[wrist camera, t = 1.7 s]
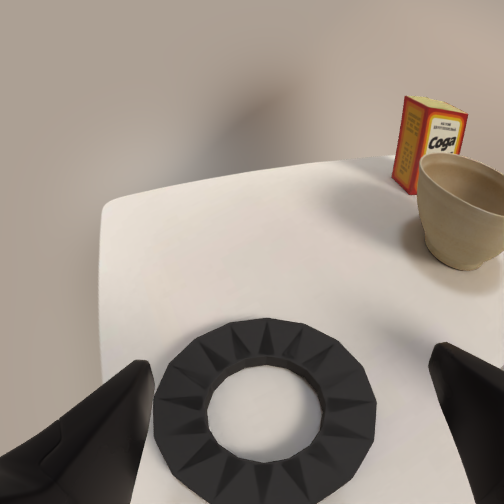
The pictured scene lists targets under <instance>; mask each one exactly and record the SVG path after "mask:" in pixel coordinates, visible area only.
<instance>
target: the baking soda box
mask: <svg viewBox="0 0 504 504" xmlns="http://www.w3.org/2000/svg"><path fill="white" fill-rule="evenodd" d="M467 118H468V114H467V113H465V112H463V111H462V110H460V109H458V108H456V107H454V106H452V105H450V104H448V103H445V102H441V101H437V100H431V99H429V98H427V97H415V96H405V98H404V106H403V113H402V120H401V126H400V133H399V139H398V145H397V150H396V156H395V161H394V166H393V172H392V178H393V179H394V180H395V181H396V182H397V183H398V184H399V185H400V186H401V187H402V188H403V189H404V190H405V191H406V192H407V193H408V194H409V195H417V185H418V177H419V162H420V159H421V157H422V156H424V155H425V154H428V153H433V152H445V153H452V154H457V155H459V154H460V150H461V146H462V141H463V137H464V132H465V128H466V122H467Z"/></svg>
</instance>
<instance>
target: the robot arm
mask: <svg viewBox="0 0 504 504" xmlns="http://www.w3.org/2000/svg"><path fill="white" fill-rule="evenodd" d="M428 368H429V372H430V375H431V378H432V381H433V384H434V387H435V391H436V394H437V397H438V400H439V403H440V406H441V409H442V412H443V414H444V416H445V419H446V421H447V424H448V426H449V429H450V431H451V434H452V436H453V439H454V441H455V444H456V447H457V449H458V452H459V455H460V458H461V460H462V463H463V466H464V469H465V472H466V475H467V478H468V481H469V484H470V487H471V490H472V493H473V496H474V499H475V503H476V504H504V371H503V370H501V369H499V368H497V367H495V366H493V365H491V364H489V363H487V362H485V361H484V360H482V359H480V358H478V357H476V356H474V355H472V354H470V353H468V352H466V351H464V350H462V349H460V348H458V347H456V346H454V345H452V344H450V343H448V342H442V343H438V344H436V345H435V346H434V349H433V352H432V355H431V358H430V361H429V365H428ZM154 387H155V383H154V378H153V374H152V371H151V367H150V364H149V362H148V361H147V360H134V361H133V362H132V363H130V364H129V365H128V366H126V367H125V368H124V369H123V370H121V371H120V372H119V373H117V374H116V375H115V376H114V377H112V378H111V379H110V380H108V381H107V382H106V383H105V384H103V385H102V386H101V387H99V388H98V389H97V390H96V391H94V392H93V393H92V394H90V395H89V396H88V397H86V398H85V399H84V400H83V401H82V402H80V403H79V404H77V405H76V406H75V407H74V408H72V409H71V410H70V411H69V412H67V413H66V414H64V415H63V416H62V417H60V419H59V420H56V421H55V422H54V423H52V424H51V425H50V426H49V427H47V428H46V429H44V430H43V431H42V432H40V433H39V434H37V435H36V436H34V437H33V438H31V439H29V440H28V441H26V442H25V443H23V444H21V445H20V446H18V447H16V448H15V449H13V450H11V451H10V452H8V453H6V454H5V455H3V456H1V457H0V504H130V502H131V497H132V493H133V489H134V485H135V480H136V476H137V472H138V468H139V464H140V460H141V456H142V452H143V448H144V444H145V441H146V437H147V433H148V428H149V422H150V415H151V408H152V401H153V394H154Z"/></svg>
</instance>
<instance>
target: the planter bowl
mask: <svg viewBox="0 0 504 504" xmlns="http://www.w3.org/2000/svg"><path fill="white" fill-rule="evenodd" d="M417 203H418V210H419V215H420V219H421V223H422V226H423V229H424V231H425V243H426V245H427V247H428V249H429V250H430V252H431V253H432V254H433V255H434V256H435V257H436V258H437V259H438V260H440V261H441V262H443V263H444V264H446V265H448V266H450V267H453V268H455V269H459V270H467V271H470V270H475V269H477V268H479V267H480V266H481V265H482V264H483V262H485V261H488V260H490V259H492V258H494V257H495V256H497V255H499V254H500V253H501V252H503V251H504V175H503V174H502V173H501V172H499V171H497V170H496V169H494V168H492V167H490V166H488V165H486V164H484V163H481V162H479V161H476V160H473V159H471V158H468V157H464V156H461V155H457V154H452V153H445V152H433V153H428V154H425V155H424V156H422V157H421V159H420V162H419V177H418V185H417Z"/></svg>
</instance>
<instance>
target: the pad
mask: <svg viewBox="0 0 504 504" xmlns="http://www.w3.org/2000/svg"><path fill="white" fill-rule="evenodd" d="M261 365H271V366H277V367H283V368H287V369H289V370H291V371H293V372H295V373H296V374H298V375H300V376H302V377H304V378H305V379H306V380H307V381H308V383H309V384H310V385H311V386H312V387H313V389H314V390H315V391H316V392H317V394H318V397H319V400H320V404H321V407H322V411H323V414H322V421H321V427H320V431H319V433H318V434H317V436H316V437H315V439H314V440H313V442H312V443H311V444H310V446H308V447H307V448H305V449H303V450H302V451H300V452H299V453H297V454H296V455H294V456H292V457H291V458H289V459H284V460H279V461H273V462H267V463H261V462H256V461H251V460H247V459H242V458H238V457H237V456H235V455H234V454H232V453H231V452H229V451H228V450H226V449H225V448H223V447H222V446H221V445H219V444H218V443H217V441H216V440H215V438H214V436H213V435H212V433H211V431H210V430H209V426H208V416H207V408H208V405H209V402H210V400H211V397H212V394H213V391H214V390H215V389H216V388H217V387H218V386H219V385H220V384H221V383H222V382H223V381H224V380H225V379H226V377H228V376H230V375H232V374H234V373H236V372H238V371H240V370H242V369H244V368H247V367H254V366H261ZM376 405H377V402H376V399H375V396H374V393H373V391H372V388H371V386H370V383H369V381H368V378H367V375H366V373H365V370H364V368H363V366H362V365H361V364H360V363H359V362H358V361H357V360H356V359H355V358H354V357H353V356H352V355H351V354H350V353H349V352H348V351H347V350H346V349H345V348H344V347H343V345H342V344H341V343H340V342H339V341H337V340H336V339H334V338H332V337H330V336H328V335H326V334H324V333H322V332H320V331H318V330H316V329H314V328H312V327H310V326H308V325H306V324H303V323H296V322H290V321H284V320H278V319H271V318H261V319H254V320H246V321H238V322H230V323H228V324H226V325H224V326H221V327H219V328H217V329H215V330H213V331H211V332H208V333H206V334H204V335H202V336H200V337H197V338H196V339H194V340H193V341H192V342H191V343H190V344H189V345H188V346H187V347H186V348H185V349H184V350H183V351H182V352H181V353H180V354H178V355H177V356H176V357H175V358H174V359H173V360H172V361H171V362H170V363H169V365H168V367H167V369H166V371H165V373H164V375H163V378H162V380H161V382H160V384H159V387H158V389H157V391H156V393H155V396H154V399H153V423H154V439H155V441H156V443H157V445H158V447H159V449H160V451H161V453H162V455H163V457H164V459H165V461H166V463H167V465H168V467H169V469H170V470H171V472H172V474H173V475H174V476H175V477H176V478H177V479H178V480H179V481H181V482H182V483H183V484H184V485H186V486H187V487H188V488H190V489H191V490H192V491H193V492H195V493H196V494H197V495H199V496H200V497H202V498H203V499H204V500H206V501H207V502H208V503H210V504H317V503H318V502H320V501H321V500H323V499H324V498H326V497H327V496H329V495H330V494H332V493H333V492H335V491H336V490H337V489H339V488H340V487H342V486H343V485H344V484H346V483H347V482H348V481H350V480H351V479H352V478H353V477H354V475H355V473H356V472H357V470H358V468H359V467H360V465H361V463H362V461H363V460H364V458H365V456H366V454H367V453H368V451H369V449H370V447H371V445H372V444H373V442H374V435H375V422H376Z"/></svg>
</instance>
